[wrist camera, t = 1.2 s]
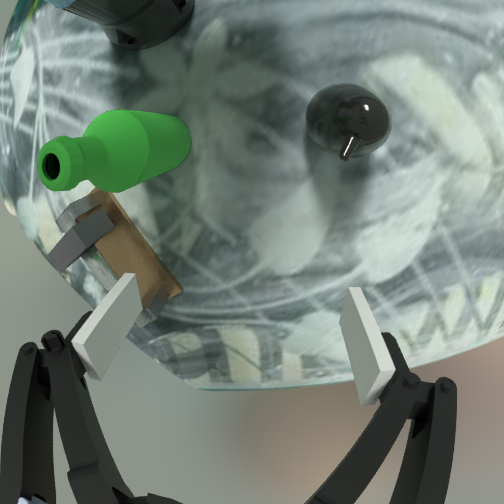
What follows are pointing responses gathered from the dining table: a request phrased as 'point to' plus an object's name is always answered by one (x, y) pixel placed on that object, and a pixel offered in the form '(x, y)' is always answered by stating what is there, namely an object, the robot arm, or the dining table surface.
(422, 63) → the dining table surface
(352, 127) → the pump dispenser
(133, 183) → the bottle
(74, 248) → the grey sliding block
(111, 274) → the pipe stand
